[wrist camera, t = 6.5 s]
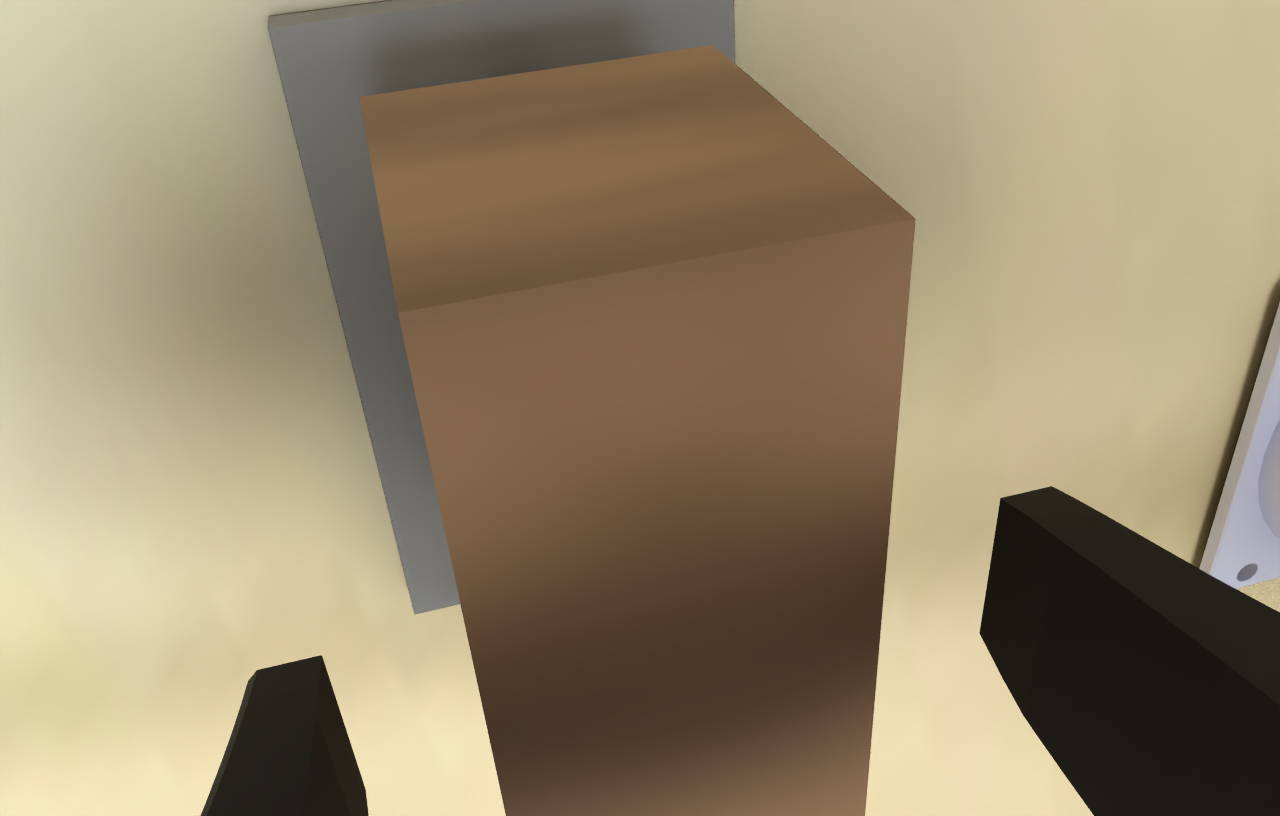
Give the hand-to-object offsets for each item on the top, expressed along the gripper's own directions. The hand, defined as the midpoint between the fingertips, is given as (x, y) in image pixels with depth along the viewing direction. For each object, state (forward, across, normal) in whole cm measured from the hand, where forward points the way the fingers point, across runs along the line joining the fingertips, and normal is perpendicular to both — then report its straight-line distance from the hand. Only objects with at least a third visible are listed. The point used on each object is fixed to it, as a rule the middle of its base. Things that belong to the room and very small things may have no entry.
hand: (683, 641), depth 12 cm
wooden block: (+4, 0, 0) cm, 4 cm away
